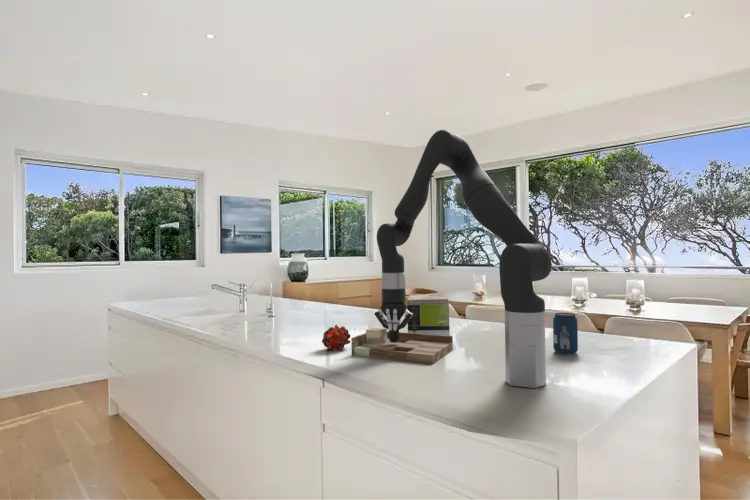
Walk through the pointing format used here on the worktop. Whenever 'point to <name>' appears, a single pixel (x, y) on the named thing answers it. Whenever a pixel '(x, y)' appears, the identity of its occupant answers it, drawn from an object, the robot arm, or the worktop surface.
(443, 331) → the tea box
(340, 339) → the dragon fruit
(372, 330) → the birch block
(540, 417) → the worktop surface
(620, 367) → the worktop surface
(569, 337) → the soda can
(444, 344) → the trap board
